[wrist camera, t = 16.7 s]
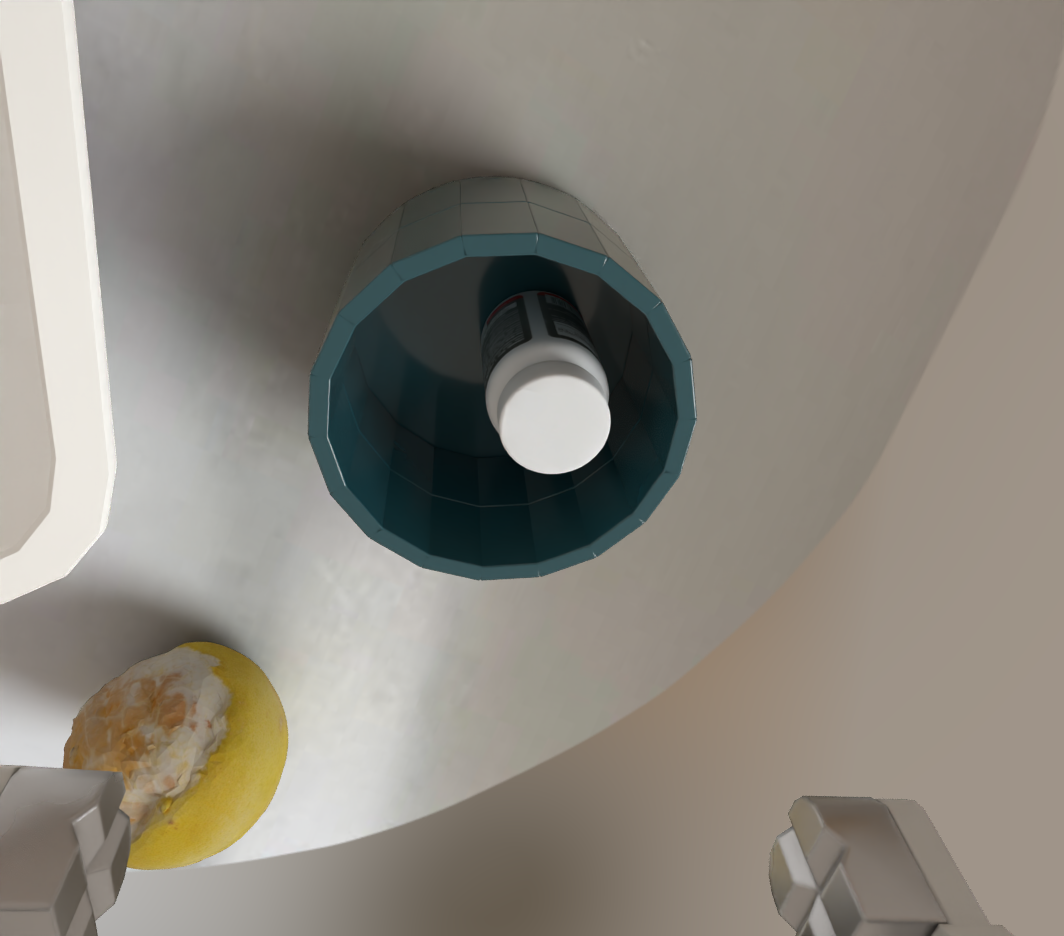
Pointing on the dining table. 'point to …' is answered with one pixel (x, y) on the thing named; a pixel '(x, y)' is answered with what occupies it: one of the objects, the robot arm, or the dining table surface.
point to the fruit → (185, 750)
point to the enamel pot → (458, 385)
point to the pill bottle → (544, 383)
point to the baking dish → (48, 308)
